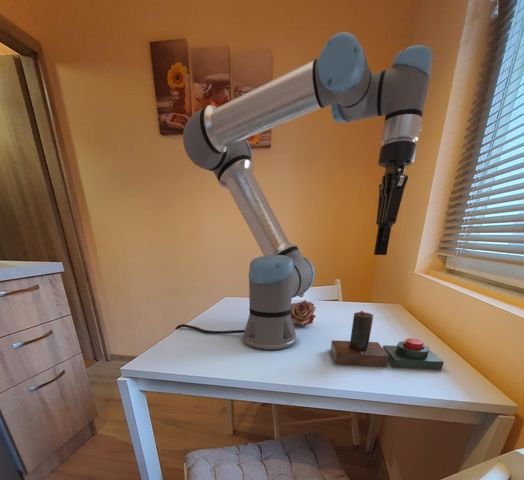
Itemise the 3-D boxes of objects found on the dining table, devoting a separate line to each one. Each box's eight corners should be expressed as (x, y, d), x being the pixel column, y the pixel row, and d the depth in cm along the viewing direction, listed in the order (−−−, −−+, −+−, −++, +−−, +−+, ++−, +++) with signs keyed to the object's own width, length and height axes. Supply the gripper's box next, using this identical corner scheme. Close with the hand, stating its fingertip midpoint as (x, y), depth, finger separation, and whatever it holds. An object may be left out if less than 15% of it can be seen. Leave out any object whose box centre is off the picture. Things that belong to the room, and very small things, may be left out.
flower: (288, 314, 101) (286, 300, 95) (313, 310, 100) (313, 295, 94) (292, 336, 96) (290, 322, 90) (318, 331, 95) (318, 317, 89)
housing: (393, 367, 66) (396, 352, 64) (381, 352, 74) (384, 338, 73) (441, 370, 65) (446, 354, 64) (424, 354, 73) (428, 340, 72)
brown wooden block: (335, 365, 67) (337, 353, 66) (330, 350, 75) (331, 339, 74) (386, 367, 66) (389, 355, 65) (375, 352, 74) (378, 341, 73)
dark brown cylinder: (369, 351, 67) (376, 316, 64) (351, 350, 68) (356, 315, 64) (365, 344, 71) (370, 311, 68) (347, 343, 72) (352, 310, 68)
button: (407, 350, 67) (409, 343, 66) (401, 344, 70) (402, 337, 70) (424, 351, 66) (426, 344, 66) (417, 345, 70) (419, 338, 69)
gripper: (429, 134, 56) (404, 257, 65) (405, 151, 68) (386, 253, 77) (391, 135, 57) (371, 256, 66) (373, 152, 69) (359, 252, 78)
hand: (380, 254), depth 72 cm, fingers closed
